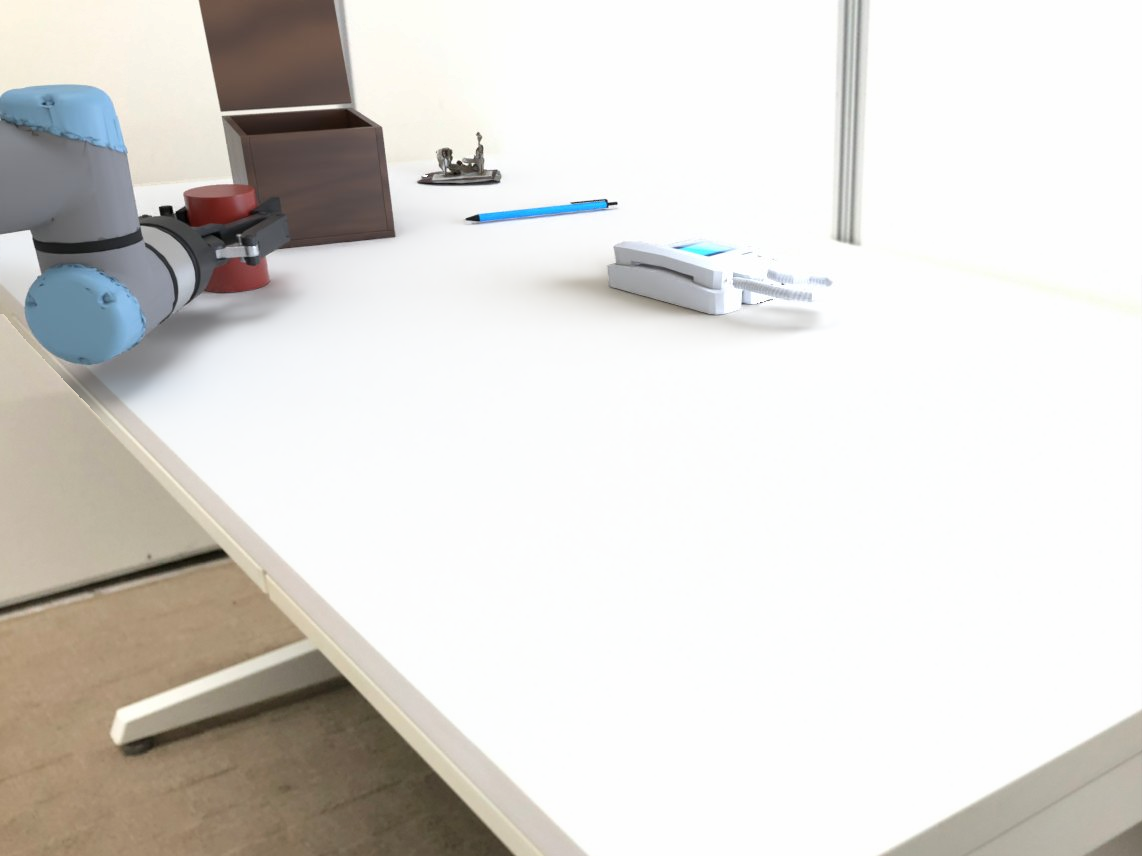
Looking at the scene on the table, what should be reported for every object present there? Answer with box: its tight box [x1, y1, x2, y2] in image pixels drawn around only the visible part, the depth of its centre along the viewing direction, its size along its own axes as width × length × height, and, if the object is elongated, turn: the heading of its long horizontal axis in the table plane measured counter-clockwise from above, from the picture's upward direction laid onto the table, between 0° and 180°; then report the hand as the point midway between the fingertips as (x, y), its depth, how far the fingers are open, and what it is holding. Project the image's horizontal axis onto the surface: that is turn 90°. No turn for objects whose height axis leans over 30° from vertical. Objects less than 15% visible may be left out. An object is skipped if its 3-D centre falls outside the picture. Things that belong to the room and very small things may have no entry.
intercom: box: [606, 238, 841, 316], centre depth 122 cm, size 13×4×25 cm
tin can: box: [182, 183, 271, 294], centre depth 126 cm, size 6×6×9 cm
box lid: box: [198, 0, 353, 113], centre depth 149 cm, size 17×15×1 cm
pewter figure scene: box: [417, 131, 502, 184], centre depth 175 cm, size 12×6×11 cm
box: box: [221, 106, 396, 250], centre depth 147 cm, size 17×15×12 cm
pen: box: [463, 198, 618, 223], centre depth 155 cm, size 1×19×1 cm, turn 117°
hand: (241, 211), depth 130 cm, fingers closed on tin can, 6 cm apart
